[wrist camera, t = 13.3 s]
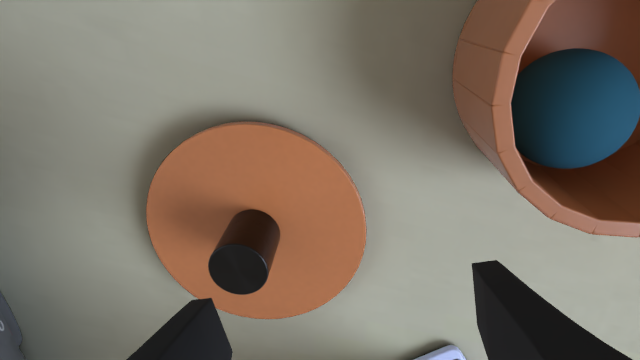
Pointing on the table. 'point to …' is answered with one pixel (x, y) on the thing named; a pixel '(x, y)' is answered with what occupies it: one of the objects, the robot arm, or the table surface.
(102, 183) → the table surface
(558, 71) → the ball
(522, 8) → the orange round open container
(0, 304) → the bluetooth speaker
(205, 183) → the pot lid
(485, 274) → the robot arm
